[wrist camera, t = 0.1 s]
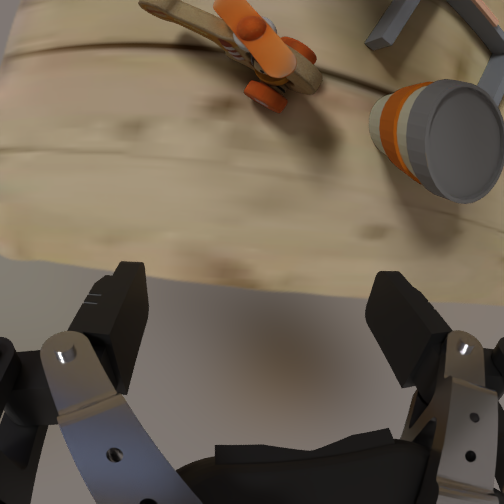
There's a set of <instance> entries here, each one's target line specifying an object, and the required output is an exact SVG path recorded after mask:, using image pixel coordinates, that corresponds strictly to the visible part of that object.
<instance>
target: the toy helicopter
mask: <svg viewBox="0 0 504 504" xmlns="http://www.w3.org/2000/svg"><path fill="white" fill-rule="evenodd" d="M138 4H139V6H140V7H141V8H142V9H144V10H145V11H147V12H148V13H150V14H152V15H154V16H156V17H158V18H160V19H163V20H166V21H169V22H174V23H176V24H179V25H181V26H183V27H185V28H187V29H189V30H192V31H194V32H196V33H198V34H200V35H202V36H204V37H206V38H208V39H210V40H211V41H213V42H215V43H216V44H217V45H219V46H220V47H221V48H222V49H223V50H224V51H225V54H226V55H227V56H228V57H229V58H231V59H232V60H234V61H236V62H239V63H242V64H244V65H246V66H247V67H249V68H251V69H252V70H254V71H255V73H256V75H257V76H258V77H259V78H260V81H259V82H257V81H254V80H251V81H250V82H249V84H248V85H247V87H246V88H245V90H244V93H245V94H246V95H247V96H248V97H250V98H251V99H253V100H254V101H256V102H258V103H259V104H261V105H263V106H265V107H266V108H268V109H270V110H272V111H274V112H277V113H281V112H282V111H283V109H284V108H285V106H286V105H287V103H288V101H287V99H286V98H285V97H284V96H282V95H283V94H284V93H285V91H286V90H287V88H288V89H291V90H293V91H296V92H299V93H302V94H307V95H311V94H314V93H315V92H316V90H317V89H318V87H319V86H320V84H321V82H322V79H323V78H322V75H321V73H320V71H319V70H318V69H317V68H316V67H315V66H314V63H315V62H316V60H317V58H316V55H315V54H314V52H313V51H312V50H311V49H310V48H309V47H307V46H306V45H305V44H303V43H301V42H300V41H298V40H295V39H293V38H290V37H282V38H280V37H279V36H278V35H277V30H276V28H275V26H274V24H273V22H272V21H271V20H269V19H268V18H266V17H263V16H260V15H259V14H258V13H257V12H256V11H255V10H254V9H253V8H252V7H251V5H250V4H249V3H248V2H247V1H246V0H215V2H214V4H213V8H214V10H215V11H216V12H217V14H218V15H219V16H220V17H221V18H222V19H221V18H219V17H216V16H214V15H212V14H210V13H208V12H205V11H203V10H201V9H198V8H196V7H194V6H191V5H189V4H187V3H184V2H182V1H181V0H140V1H139V2H138Z"/></svg>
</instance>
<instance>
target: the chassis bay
mask: <svg viewBox="0 0 504 504" xmlns="http://www.w3.org/2000/svg"><path fill="white" fill-rule="evenodd" d="M446 1H447V2H448V3H449V4H450V5H451V6H452V7H453V8H454V9H455V10H456V11H457V12H458V13H459V14H460V15H461V17H462V18H463V19H464V20H465V21H466V22H467V23H468V24H469V25H470V27H471V28H472V29H473V30H474V31H475V32H476V34H477V35H478V36H479V37H480V38H481V40H482V41H483V42H484V43H485V45H486V46H487V47H488V49H489V50H490V51H491V52H492V55H491V58H490V60H489V62H488V64H487V66H486V68H485V71H484V73H483V75H482V77H481V79H480V81H479V83H478V85H477V86H479V87H480V88H482V89H483V90H484V91H486V92H487V93H488V94H489V95H490V96H491V97H492V99H493V100H494V101H495V103H496V105H497V106H499V104H500V101H501V99H502V97H503V95H504V32H503V30H502V29H501V28H500V27H499V25H498V23H499V20H498V19H497V18H496V17H495V15H494V14H493V13H492V12H491V10H490V9H489V8H488V7H487V5H486V4H485V3H484V2H483V1H482V0H446ZM419 2H420V0H393V1H392V3H391V4H390V6H389V7H388V9H387V10H386V12H385V13H384V15H383V16H382V18H381V19H380V21H379V22H378V24H377V25H376V27H375V28H374V30H373V31H372V33H371V34H370V36H369V37H368V39H367V40H366V42H365V43H364V44H366V45H367V46H368V47H370V48H371V49H372V50H377V49H380V48H384V47H388V46H391V45H392V44H393V43H394V41H395V39H396V38H397V36H398V35H399V33H400V32H401V30H402V28H403V27H404V25H405V24H406V22H407V21H408V19H409V17H410V16H411V14H412V13H413V11H414V10H415V8H416V6H417V5H418V3H419Z"/></svg>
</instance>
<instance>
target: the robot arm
mask: <svg viewBox="0 0 504 504" xmlns="http://www.w3.org/2000/svg"><path fill="white" fill-rule="evenodd" d="M148 311H149V303H148V294H147V285H146V274H145V266H144V263H143V262H127V261H121V262H120V263H119V265H118V267H117V268H116V270H115V272H114V274H113V276H110V275H105V276H104V277H103V278H101V279H100V280H99V281H97V282H96V283H95V284H94V285H93V287H92V289H91V290H90V292H89V295H87V297H86V299H85V300H84V303H83V304H82V305H81V307H80V309H79V311H78V312H77V314H76V316H75V318H74V319H73V321H72V323H71V325H70V327H69V329H68V330H67V331H64V332H60V333H57V334H54V335H53V336H51V337H50V338H48V339H47V340H46V341H45V342H44V344H43V345H42V347H41V350H37V351H26V352H16V350H15V348H14V346H13V344H12V342H11V341H10V340H9V339H7V338H4V337H0V418H1V415H2V413H3V410H4V411H5V413H4V415H3V418H2V421H1V424H0V504H30V503H31V497H32V492H33V486H34V482H35V477H36V472H37V468H38V463H39V459H40V455H41V451H42V447H43V443H44V439H45V436H46V432H47V429H48V425H54V424H59V427H60V430H61V432H62V434H63V437H64V439H65V442H66V444H67V446H68V449H69V451H70V453H71V455H72V457H73V459H74V462H75V464H76V466H77V468H78V470H79V472H80V474H81V476H82V478H83V480H84V482H85V484H86V486H87V487H88V489H89V491H90V493H91V495H92V496H93V498H94V500H95V502H96V504H504V410H503V409H502V407H501V405H500V403H499V401H498V400H499V399H500V398H501V397H502V395H503V394H504V337H503V338H501V339H500V340H499V342H498V344H497V345H496V347H495V348H494V349H486V348H483V347H482V345H481V343H480V342H479V341H478V340H477V339H476V338H475V337H474V336H472V335H471V334H469V333H467V332H464V331H459V330H458V331H457V330H456V331H452V329H451V328H450V327H449V326H448V325H447V323H446V322H445V321H444V320H443V318H442V317H441V316H440V314H439V313H438V312H437V311H436V310H435V309H434V307H433V306H432V305H431V304H430V302H428V300H427V299H426V298H425V297H424V295H423V294H422V293H421V292H420V291H418V290H417V289H416V288H414V287H413V286H412V285H411V284H410V283H409V282H408V281H407V280H406V279H405V277H404V276H403V275H402V274H401V273H400V272H398V271H380V272H378V273H377V275H376V277H375V280H374V284H373V287H372V290H371V293H370V296H369V299H368V303H367V306H366V310H365V318H366V322H367V324H368V326H369V328H370V330H371V331H372V333H373V335H374V337H375V339H376V340H377V342H378V344H379V346H380V348H381V350H382V351H383V353H384V355H385V357H386V359H387V361H388V363H389V364H390V366H391V368H392V370H393V372H394V374H395V376H396V378H397V380H398V382H399V384H400V385H401V387H402V388H406V387H412V386H416V387H417V390H416V391H415V393H414V394H413V397H412V401H411V405H410V408H409V412H408V416H407V419H406V423H405V426H404V429H403V433H402V435H401V438H400V439H393V437H392V434H391V432H390V430H389V428H386V429H381V430H377V431H372V432H367V433H361V434H356V435H351V436H349V437H347V438H344V439H342V440H340V441H337V442H334V443H332V444H329V445H327V446H324V447H322V448H319V449H316V450H313V451H305V450H296V449H288V448H280V447H275V446H268V445H215V456H214V457H209V458H204V459H201V460H198V461H195V462H192V463H190V464H187V465H185V466H183V467H181V468H179V469H177V470H176V471H175V470H174V469H173V467H172V466H171V465H170V463H169V462H168V461H167V460H166V458H165V457H164V456H163V454H162V453H161V452H160V450H159V449H158V447H157V446H156V445H155V443H154V442H153V441H152V439H151V438H150V436H149V435H148V433H147V432H146V431H145V429H144V428H143V426H142V425H141V423H140V422H139V420H138V419H137V417H136V416H135V414H134V413H133V411H132V409H131V408H130V406H129V405H128V403H127V402H126V400H125V398H124V397H123V396H122V394H123V395H127V393H128V389H129V385H130V381H131V377H132V373H133V369H134V366H135V362H136V358H137V355H138V351H139V347H140V344H141V340H142V337H143V333H144V330H145V326H146V323H147V319H148ZM494 477H495V478H496V480H497V483H498V485H499V488H500V491H499V490H497V489H495V488H493V485H494Z"/></svg>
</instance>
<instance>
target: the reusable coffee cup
mask: <svg viewBox="0 0 504 504" xmlns="http://www.w3.org/2000/svg"><path fill="white" fill-rule="evenodd" d="M369 131H370V135H371V138H372V140H373V142H374V144H375V145H376V147H377V148H378V149H379V150H380V151H381V152H382V153H384V154H385V155H387V156H388V158H389V159H390V161H391V162H392V163H393V164H394V165H395V166H396V167H398V168H399V169H400V170H402V171H403V172H404V173H406V174H407V175H408V176H409V177H411V178H412V179H413V180H415V181H416V182H418V183H419V184H422V185H423V186H424V187H425V188H426V189H427V190H429V191H430V192H432V193H433V194H435V195H438V196H440V197H443V198H446V199H448V200H451V201H454V202H456V203H463V204H467V203H473V202H475V201H477V200H479V199H481V198H483V197H484V196H485V195H486V194H488V193H489V191H490V190H491V189H492V188H493V187H494V185H495V184H496V182H497V180H498V179H499V176H500V174H501V172H502V169H503V166H504V121H503V117H502V115H501V113H500V110H499V108H498V106H497V105H496V103H495V101H494V100H493V99H492V97H491V96H490V95H489V94H488V93H487V92H486V91H484V90H483V89H482V88H480V87H479V86H476V85H474V84H471V83H467V82H462V81H456V80H448V79H444V80H439V81H435V82H425V83H420V84H416V85H412V86H408V87H404V88H401V89H399V90H398V91H396V92H395V93H394V94H390V95H386V96H384V97H382V98H381V99H379V100H378V101H377V102H376V104H375V105H374V106H373V108H372V110H371V113H370V117H369Z"/></svg>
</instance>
